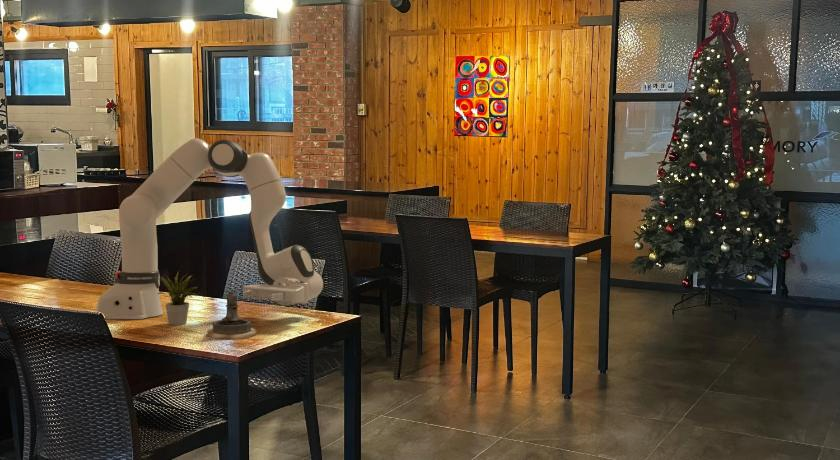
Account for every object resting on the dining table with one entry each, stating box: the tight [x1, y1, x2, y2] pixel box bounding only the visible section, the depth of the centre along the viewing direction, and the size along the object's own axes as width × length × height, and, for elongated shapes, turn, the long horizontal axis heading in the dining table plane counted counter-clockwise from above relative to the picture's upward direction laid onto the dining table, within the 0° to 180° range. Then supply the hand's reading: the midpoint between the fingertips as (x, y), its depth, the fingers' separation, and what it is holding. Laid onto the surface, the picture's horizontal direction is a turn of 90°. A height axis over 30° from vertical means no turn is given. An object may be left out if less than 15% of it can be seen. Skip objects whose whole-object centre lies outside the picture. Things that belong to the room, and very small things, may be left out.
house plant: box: [153, 270, 198, 326], centre depth 284 cm, size 14×14×16 cm
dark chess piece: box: [221, 289, 243, 325], centre depth 269 cm, size 6×6×12 cm
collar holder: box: [206, 319, 258, 340], centre depth 270 cm, size 14×14×4 cm
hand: (257, 296), depth 279 cm, fingers open, 8 cm apart
